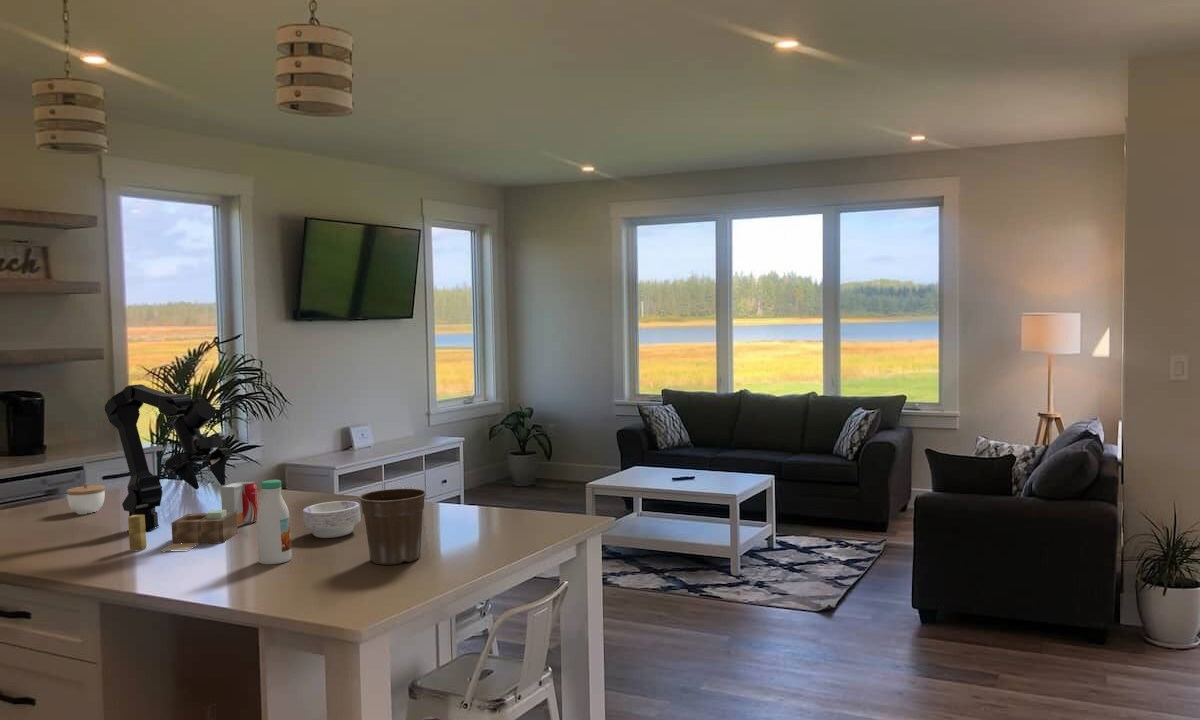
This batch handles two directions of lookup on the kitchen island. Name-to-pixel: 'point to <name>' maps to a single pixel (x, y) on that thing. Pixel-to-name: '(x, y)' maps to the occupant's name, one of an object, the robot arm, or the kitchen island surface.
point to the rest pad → (180, 546)
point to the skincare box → (233, 500)
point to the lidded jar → (86, 498)
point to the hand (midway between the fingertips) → (210, 486)
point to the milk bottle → (273, 525)
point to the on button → (216, 514)
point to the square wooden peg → (137, 532)
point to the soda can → (249, 501)
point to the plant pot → (393, 524)
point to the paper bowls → (331, 518)
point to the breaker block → (203, 528)
